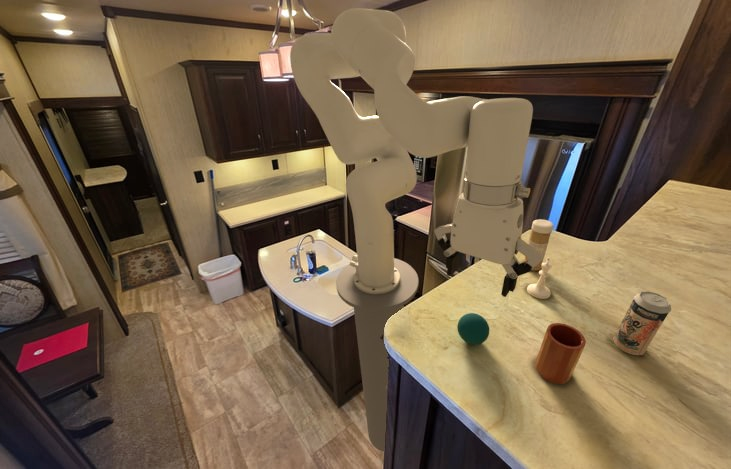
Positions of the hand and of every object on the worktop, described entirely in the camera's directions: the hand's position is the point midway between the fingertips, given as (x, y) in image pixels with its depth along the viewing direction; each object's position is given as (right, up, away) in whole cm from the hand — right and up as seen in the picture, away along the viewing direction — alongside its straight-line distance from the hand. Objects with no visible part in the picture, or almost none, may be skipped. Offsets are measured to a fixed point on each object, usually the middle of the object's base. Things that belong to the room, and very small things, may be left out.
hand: (477, 281), depth 51 cm
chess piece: (+22, -6, +19) cm, 30 cm away
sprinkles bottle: (+25, -1, +28) cm, 37 cm away
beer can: (+30, -13, +4) cm, 33 cm away
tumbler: (+14, -16, +1) cm, 21 cm away
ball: (+2, -13, +8) cm, 16 cm away
